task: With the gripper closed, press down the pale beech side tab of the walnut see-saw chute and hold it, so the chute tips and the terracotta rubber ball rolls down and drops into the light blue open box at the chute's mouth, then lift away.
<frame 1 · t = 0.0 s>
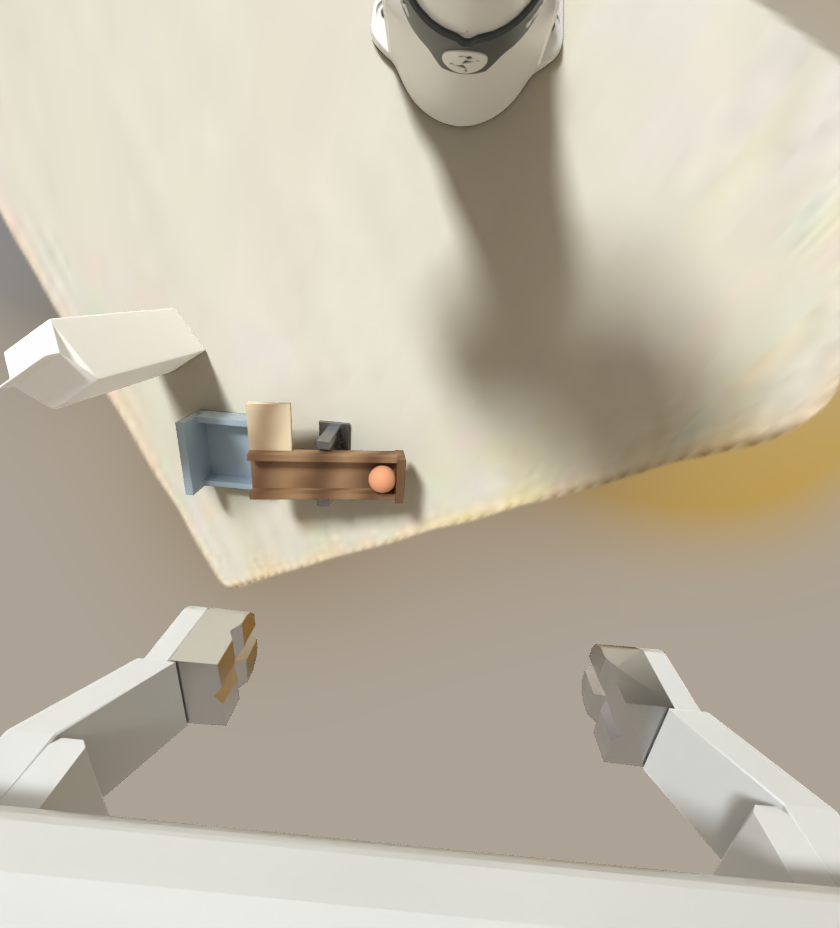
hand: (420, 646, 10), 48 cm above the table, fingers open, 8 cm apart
light blue open box: (235, 446, 61), on the table
milk: (174, 340, 56), on the table
lever: (328, 453, 54), point 6 cm above the table, hinge at -11.0°, touching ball
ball: (382, 479, 55), point 6 cm above the table, tilted 7°, touching lever
pivot stand: (334, 455, 61), on the table
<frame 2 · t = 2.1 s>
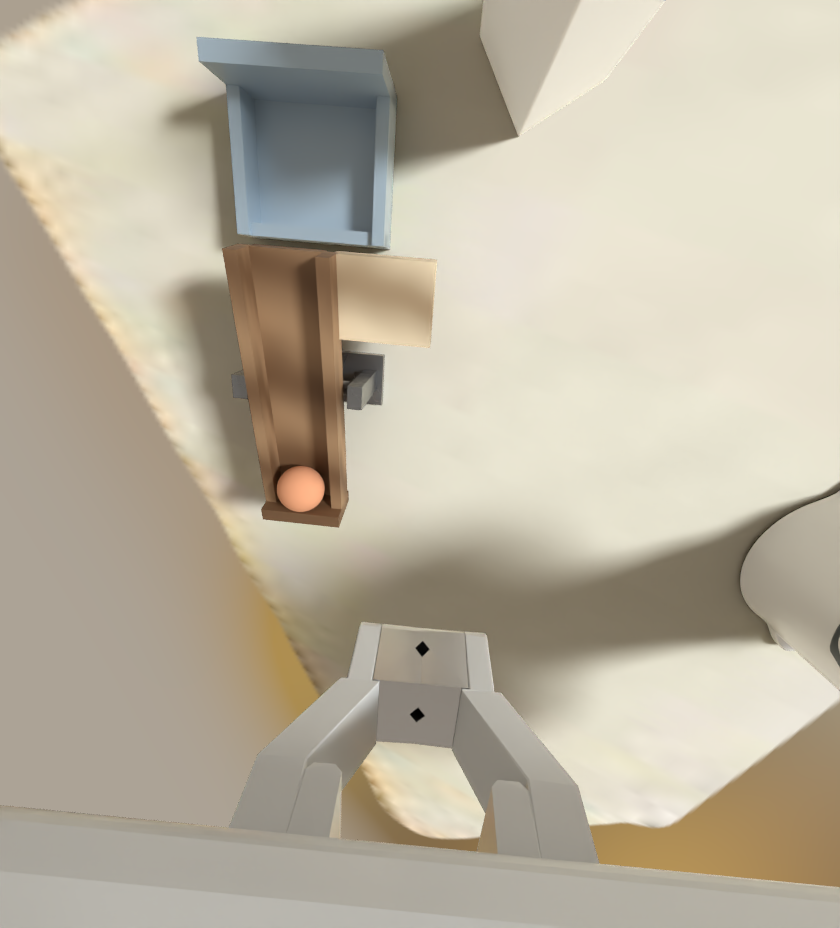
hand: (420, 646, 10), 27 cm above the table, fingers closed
light blue open box: (322, 171, 30), on the table
milk: (542, 59, 27), on the table
lever: (338, 404, 30), point 6 cm above the table, hinge at -11.0°, touching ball
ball: (301, 488, 33), point 6 cm above the table, tilted 7°, touching lever
pivot stand: (323, 373, 35), on the table
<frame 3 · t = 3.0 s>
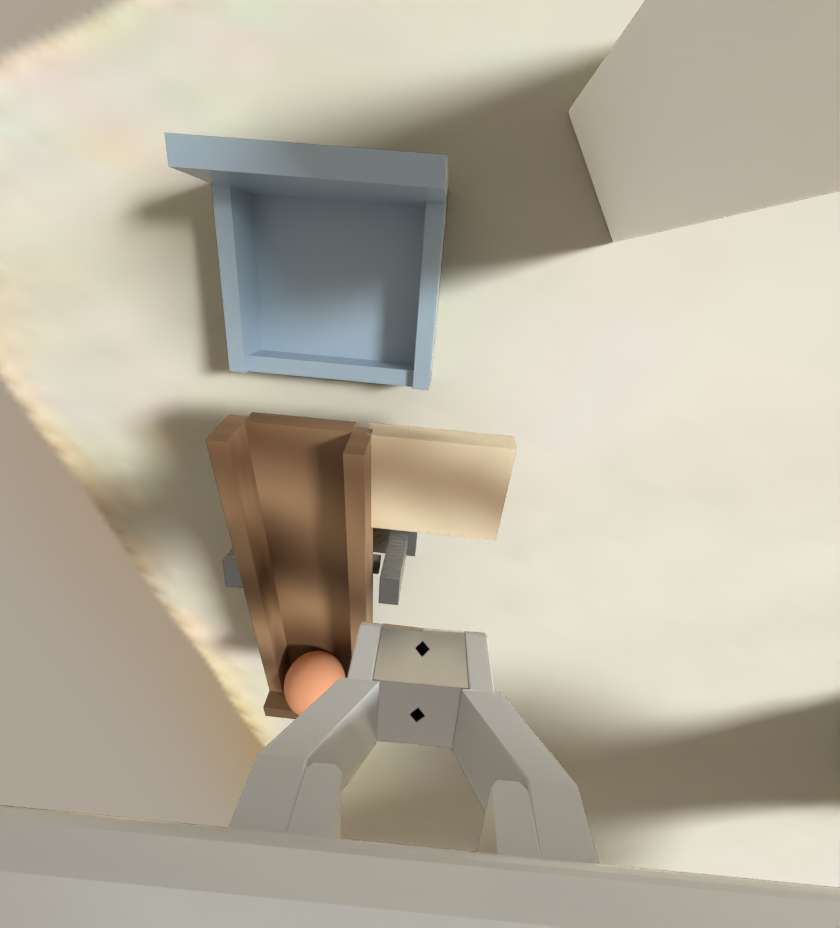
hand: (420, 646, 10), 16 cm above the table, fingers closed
light blue open box: (343, 282, 22), on the table
milk: (653, 143, 19), on the table
lever: (366, 594, 22), point 6 cm above the table, hinge at -11.0°, touching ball
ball: (315, 683, 25), point 6 cm above the table, tilted 7°, touching lever
pivot stand: (341, 517, 28), on the table
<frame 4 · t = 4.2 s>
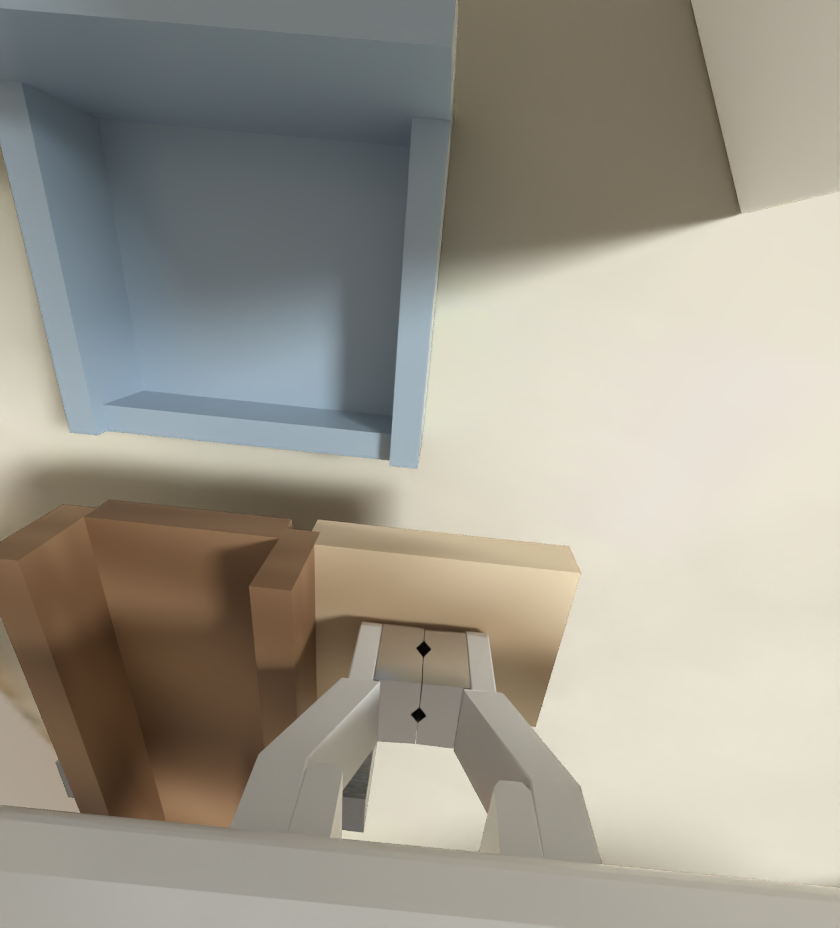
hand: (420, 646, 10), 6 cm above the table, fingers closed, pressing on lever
light blue open box: (274, 280, 13), on the table
milk: (832, 28, 10), on the table
lever: (309, 812, 13), point 6 cm above the table, hinge at -1.1°, touching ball, gripper
pivot stand: (288, 631, 19), on the table
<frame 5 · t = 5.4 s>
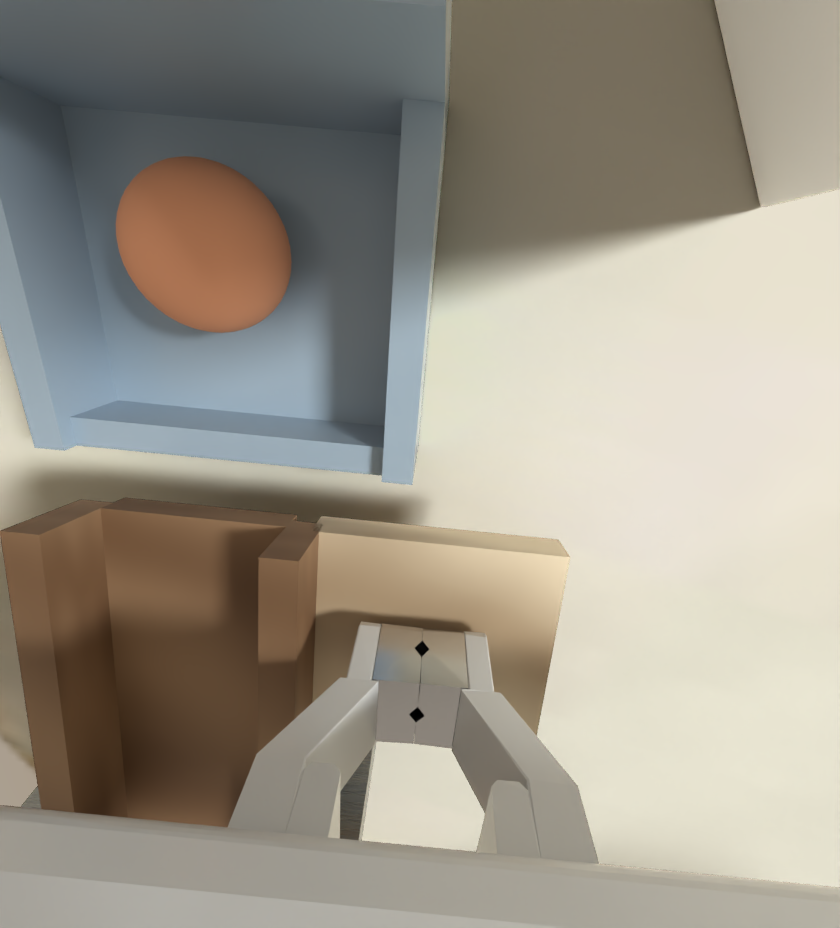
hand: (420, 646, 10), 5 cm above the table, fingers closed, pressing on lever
light blue open box: (257, 281, 12), on the table
lever: (296, 855, 12), point 6 cm above the table, hinge at 9.1°, touching gripper
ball: (210, 251, 10), point 3 cm above the table, tilted 67°, touching light blue open box
pivot stand: (278, 651, 18), on the table
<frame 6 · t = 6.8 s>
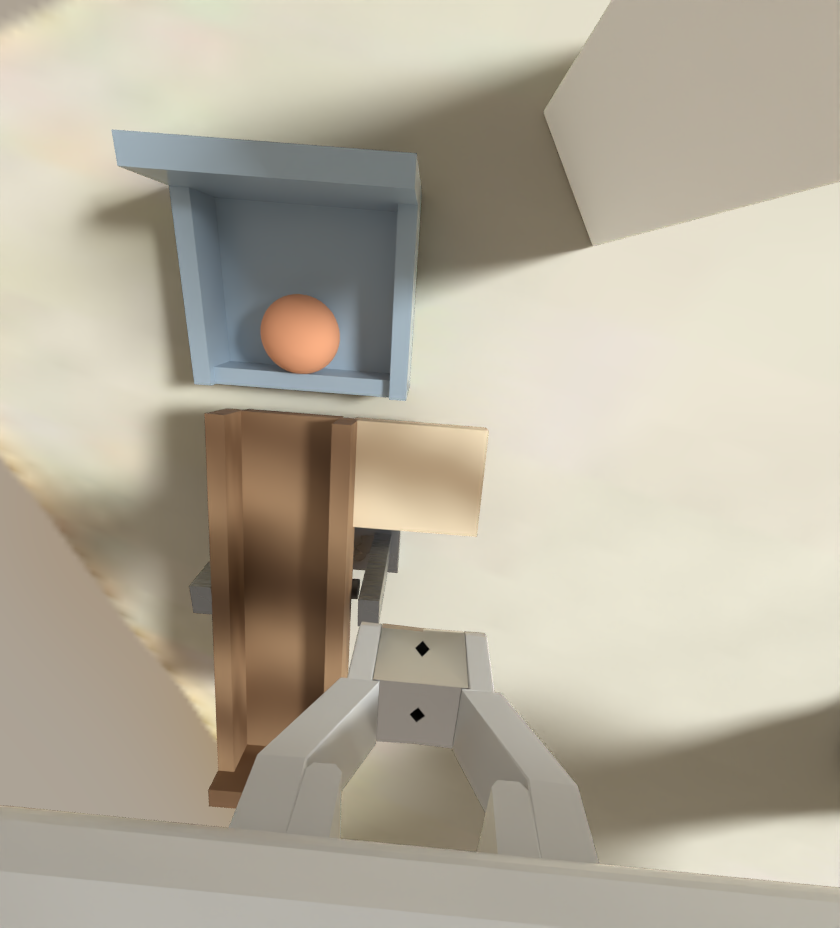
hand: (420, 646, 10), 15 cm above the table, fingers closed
light blue open box: (314, 289, 21), on the table
milk: (630, 144, 19), on the table
lever: (343, 615, 21), point 6 cm above the table, hinge at 9.1°
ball: (301, 335, 20), point 3 cm above the table, tilted 15°, touching light blue open box
pivot stand: (319, 533, 27), on the table
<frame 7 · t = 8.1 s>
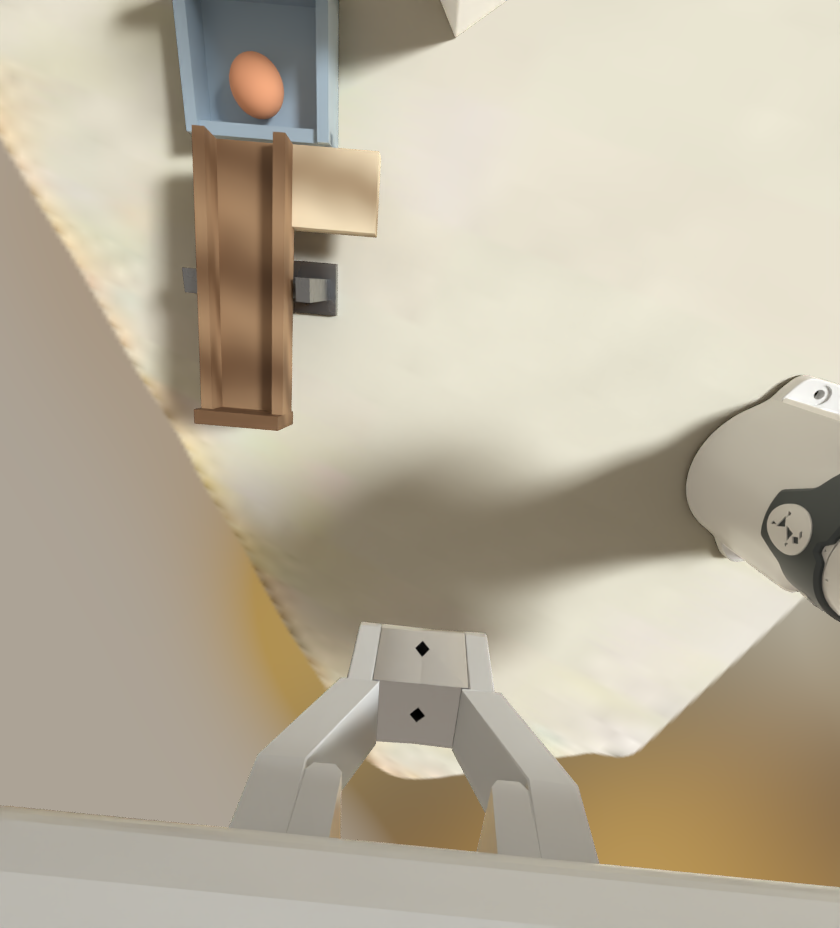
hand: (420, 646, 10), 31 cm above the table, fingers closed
light blue open box: (269, 74, 31), on the table
lever: (286, 294, 31), point 6 cm above the table, hinge at 9.1°
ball: (257, 86, 29), point 3 cm above the table, touching light blue open box
pivot stand: (278, 285, 36), on the table
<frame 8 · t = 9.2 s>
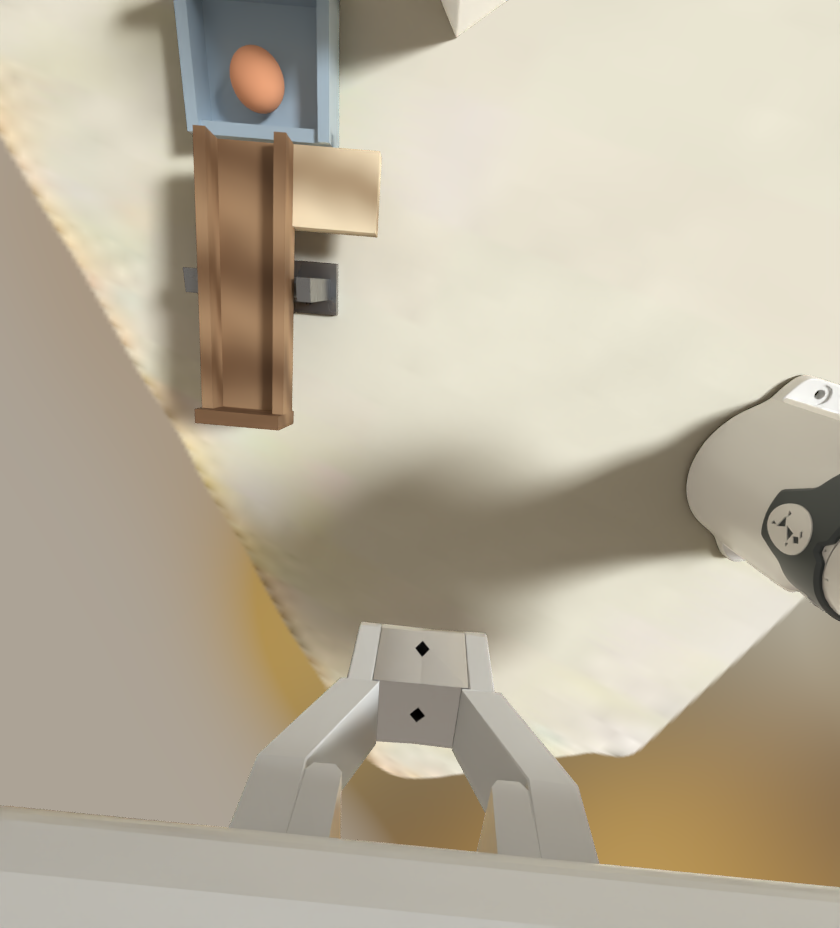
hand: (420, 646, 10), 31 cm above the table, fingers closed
light blue open box: (270, 74, 31), on the table
lever: (287, 293, 31), point 6 cm above the table, hinge at 9.1°
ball: (257, 80, 29), point 3 cm above the table, tilted 8°, touching light blue open box
pivot stand: (279, 285, 36), on the table
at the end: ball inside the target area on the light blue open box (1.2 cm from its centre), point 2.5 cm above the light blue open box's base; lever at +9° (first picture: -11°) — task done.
